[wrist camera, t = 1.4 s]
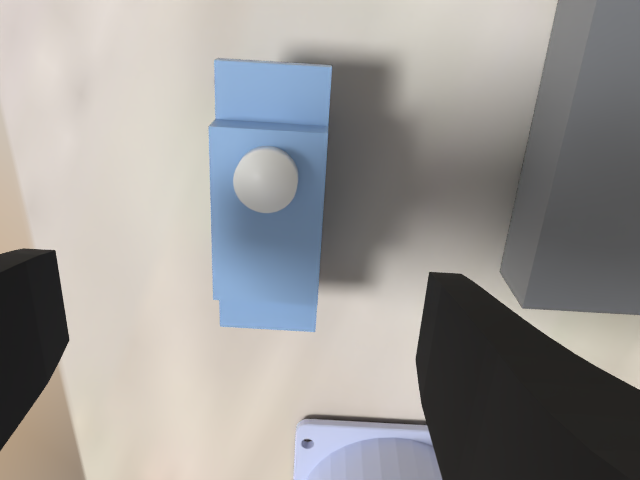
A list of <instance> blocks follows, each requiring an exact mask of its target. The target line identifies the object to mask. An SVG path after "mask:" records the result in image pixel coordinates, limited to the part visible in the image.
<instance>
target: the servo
mask: <svg viewBox="0 0 640 480" xmlns="http://www.w3.org/2000/svg"><path fill="white" fill-rule="evenodd" d="M214 68H215V115H216V119H215V120H214V121H213V122H212V123H211V125H210V126H209V157H210V195H211V233H212V270H213V300H219V304H220V326H221V327H238V328H255V329H273V330H290V331H308V332H315V328H316V312H317V302H318V286H319V271H320V255H321V239H322V224H323V208H324V192H325V176H326V161H327V145H328V123H329V107H330V91H331V75H332V65H322V64H305V63H289V62H273V61H257V60H240V59H224V58H217V59H215V60H214Z"/></svg>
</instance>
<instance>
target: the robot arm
mask: <svg viewBox="0 0 640 480" xmlns="http://www.w3.org/2000/svg"><path fill="white" fill-rule="evenodd" d="M68 342H69V334H68V328H67V322H66V315H65V309H64V302H63V296H62V290H61V283H60V277H59V270H58V264H57V258H56V251H55V250H40V249H20V250H14V251H10V252H6V253H3V254H0V451H1V449H2V448H3V446H4V445H5V444H6V442H7V441H8V439H9V438H10V436H11V435H12V434H13V432H14V431H15V430H16V428H17V427H18V425H19V424H20V423H21V421H22V420H23V418H24V417H25V415H26V414H27V413H28V411H29V410H30V408H31V407H32V406H33V404H34V402H35V401H36V400H37V398H38V397H39V395H40V394H41V393H42V391H43V390H44V388H45V386H46V385H47V384H48V382H49V380H50V378H51V376H52V374H53V372H54V371H55V368H56V367H57V365H58V363H59V361H60V359H61V357H62V355H63V352H64V350H65V348H66V346H67V344H68ZM416 367H417V375H418V383H419V390H420V397H421V404H422V408H423V411H424V415H425V419H426V423H427V425H411V424H393V423H375V422H357V421H339V420H321V419H304V420H302V421H300V422H299V423H298V424H297V427H296V439H295V459H294V478H293V480H640V390H639V389H637V388H635V387H633V386H631V385H629V384H627V383H626V382H624V381H622V380H620V379H618V378H616V377H615V376H613V375H611V374H609V373H607V372H605V371H604V370H602V369H600V368H598V367H596V366H595V365H593V364H591V363H589V362H588V361H586V360H584V359H583V358H581V357H579V356H578V355H576V354H574V353H573V352H571V351H570V350H568V349H567V348H565V347H564V346H562V345H561V344H559V343H558V342H556V341H554V340H553V339H551V338H550V337H548V336H547V335H545V334H544V333H542V332H541V331H540V330H538V329H537V328H535V327H534V326H532V325H531V324H530V323H528V322H527V321H525V320H524V319H523V318H521V317H520V316H519V315H517V314H516V313H514V312H513V311H512V310H510V309H509V308H508V307H506V306H505V305H504V304H502V303H501V302H500V301H498V300H497V299H496V298H495V297H493V296H492V295H491V294H489V293H488V292H487V291H485V290H484V289H483V288H481V287H480V286H479V285H477V284H476V283H474V282H473V281H472V280H470V279H469V278H467V277H465V276H464V275H462V274H455V273H438V272H429V277H428V283H427V290H426V296H425V303H424V309H423V315H422V322H421V328H420V335H419V341H418V347H417V354H416ZM304 439H310V440H312V441H309V442H307V441H304Z"/></svg>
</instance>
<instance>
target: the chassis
mask: <svg viewBox="0 0 640 480" xmlns="http://www.w3.org/2000/svg"><path fill="white" fill-rule="evenodd" d="M500 273H501V275H502V277H503V278H504V280H505V281H506V283H507V285H508V286H509V288H510V289H511V291H512V293H513V294H514V296H515V297H516V299H517V301H518V302H519V304H520V305H521V307H522V308H526V309H543V310H561V311H578V312H596V313H613V314H630V315H640V0H558V3H557V8H556V13H555V17H554V22H553V27H552V31H551V36H550V41H549V45H548V50H547V55H546V59H545V64H544V68H543V73H542V78H541V82H540V87H539V92H538V96H537V101H536V106H535V110H534V115H533V120H532V124H531V129H530V133H529V138H528V143H527V147H526V152H525V157H524V161H523V166H522V171H521V175H520V180H519V185H518V189H517V194H516V198H515V203H514V208H513V212H512V217H511V222H510V226H509V231H508V236H507V240H506V245H505V250H504V254H503V259H502V263H501V268H500Z"/></svg>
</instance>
